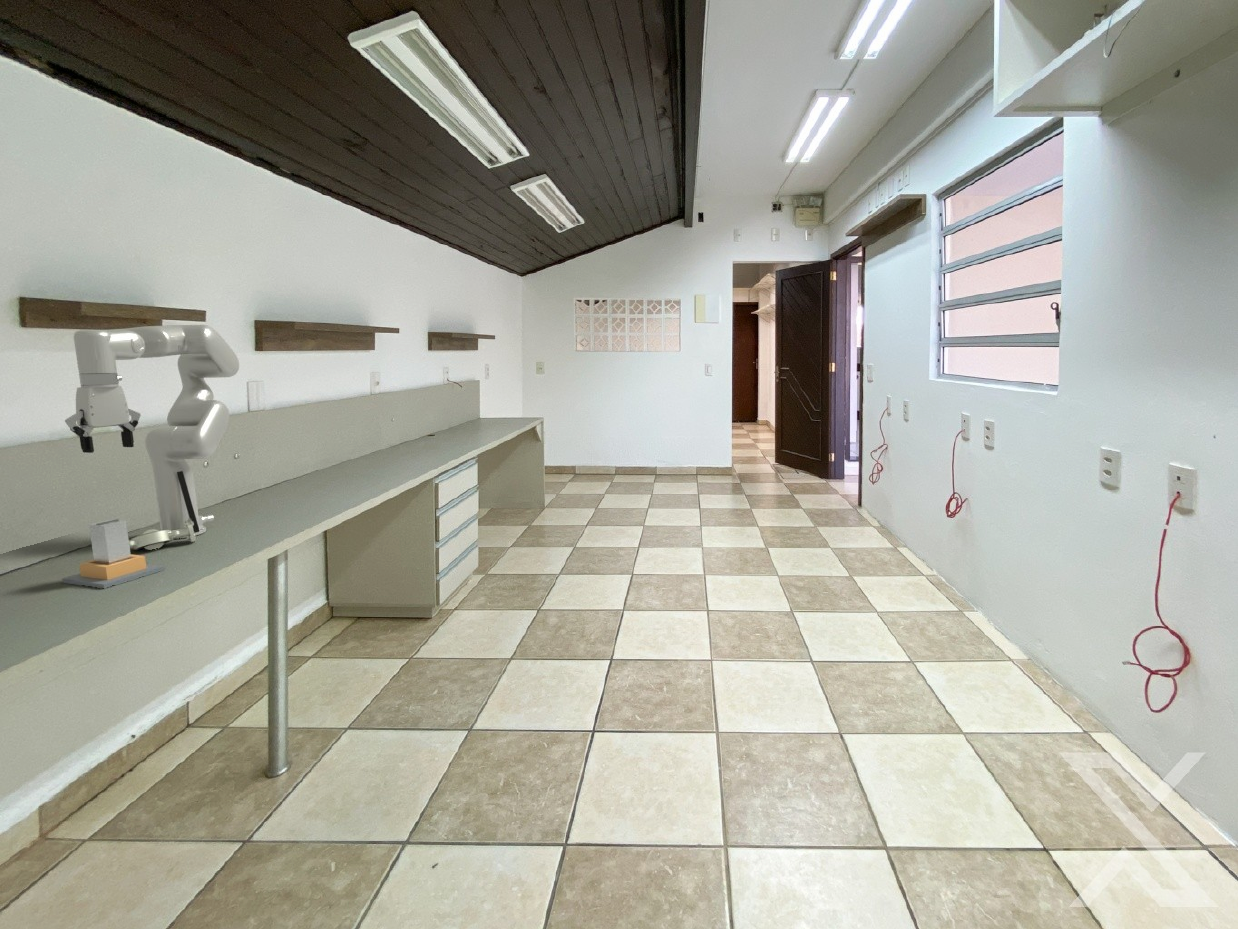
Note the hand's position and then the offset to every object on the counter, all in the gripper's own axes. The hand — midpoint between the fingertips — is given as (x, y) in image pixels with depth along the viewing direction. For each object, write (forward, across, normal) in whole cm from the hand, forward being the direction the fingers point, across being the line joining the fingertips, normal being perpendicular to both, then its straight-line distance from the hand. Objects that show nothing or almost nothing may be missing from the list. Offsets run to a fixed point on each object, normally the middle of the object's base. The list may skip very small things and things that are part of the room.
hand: (108, 449), depth 170 cm
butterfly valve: (+29, -10, 0) cm, 31 cm away
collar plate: (+28, +11, +13) cm, 33 cm away
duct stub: (+27, +11, +13) cm, 32 cm away
